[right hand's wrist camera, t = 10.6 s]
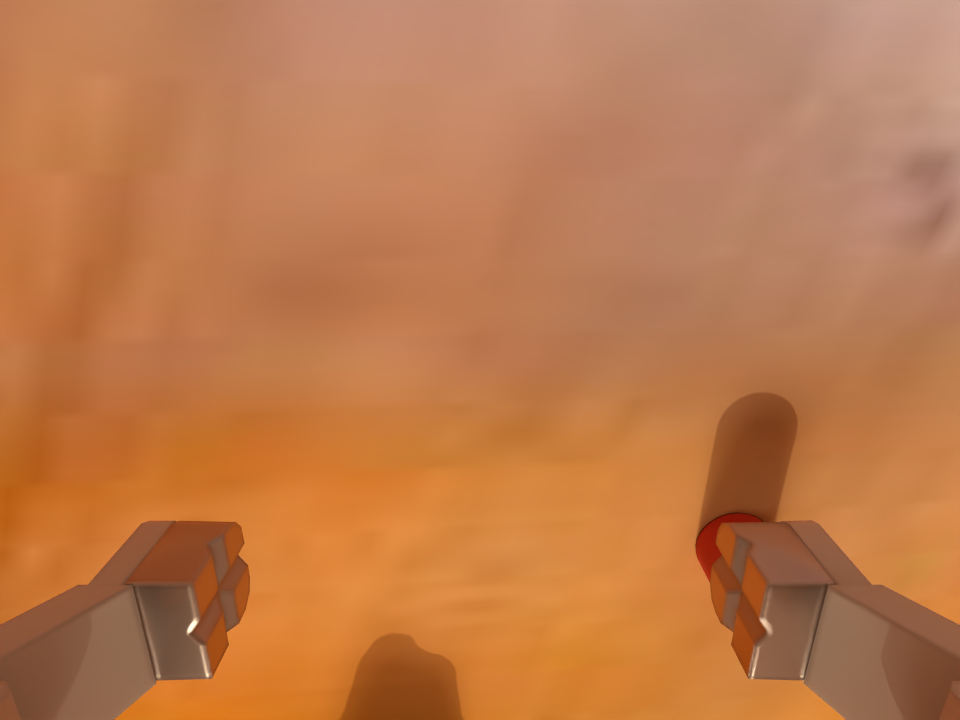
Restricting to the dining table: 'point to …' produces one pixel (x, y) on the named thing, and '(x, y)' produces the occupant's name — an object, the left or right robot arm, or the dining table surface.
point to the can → (707, 539)
